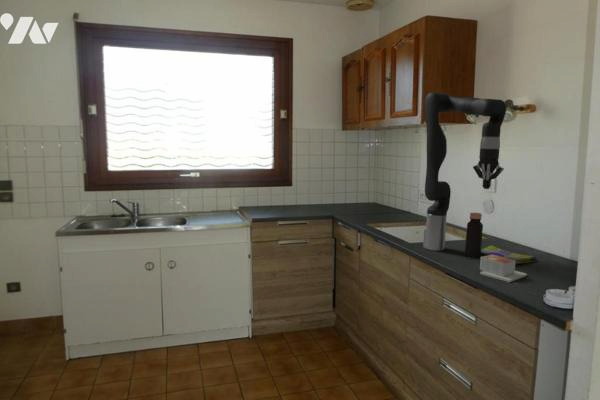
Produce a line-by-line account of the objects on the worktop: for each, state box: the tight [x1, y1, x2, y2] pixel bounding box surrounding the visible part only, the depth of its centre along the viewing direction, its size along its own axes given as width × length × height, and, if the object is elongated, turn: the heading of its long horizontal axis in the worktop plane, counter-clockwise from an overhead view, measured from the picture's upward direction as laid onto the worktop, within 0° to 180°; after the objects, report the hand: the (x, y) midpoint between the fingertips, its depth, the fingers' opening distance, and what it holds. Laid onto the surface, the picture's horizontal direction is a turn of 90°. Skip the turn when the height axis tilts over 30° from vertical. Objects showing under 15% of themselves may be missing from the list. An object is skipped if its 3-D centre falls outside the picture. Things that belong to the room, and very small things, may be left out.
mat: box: [479, 270, 528, 283], centre depth 172 cm, size 12×14×1 cm
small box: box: [479, 254, 516, 277], centre depth 173 cm, size 8×6×10 cm
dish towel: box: [480, 245, 538, 266], centre depth 199 cm, size 18×24×3 cm
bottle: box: [464, 212, 484, 258], centre depth 199 cm, size 7×7×20 cm
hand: (486, 188), depth 183 cm, fingers closed
